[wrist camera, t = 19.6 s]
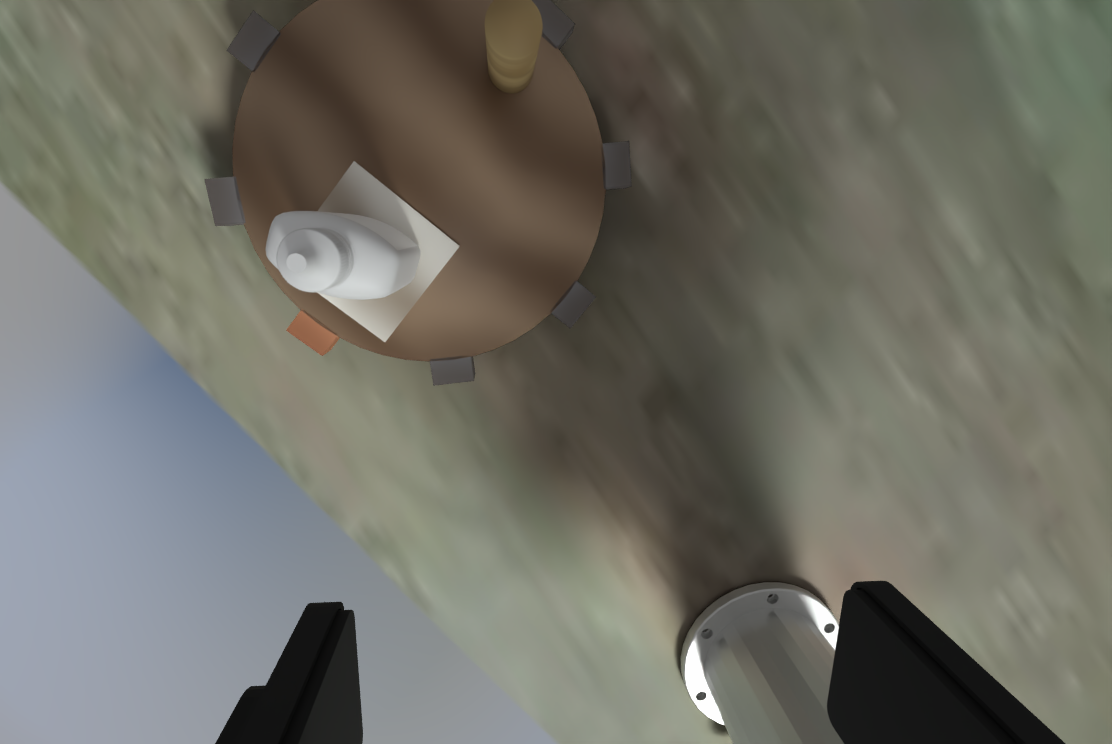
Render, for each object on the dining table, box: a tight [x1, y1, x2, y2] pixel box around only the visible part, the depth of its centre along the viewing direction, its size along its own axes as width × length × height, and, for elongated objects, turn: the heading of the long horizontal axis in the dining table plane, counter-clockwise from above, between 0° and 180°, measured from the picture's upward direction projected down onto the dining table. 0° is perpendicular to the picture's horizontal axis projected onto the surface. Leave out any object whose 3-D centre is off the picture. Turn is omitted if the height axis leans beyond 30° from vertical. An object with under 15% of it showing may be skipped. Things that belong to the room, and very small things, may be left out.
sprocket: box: [205, 0, 632, 385], centre depth 29 cm, size 23×23×9 cm
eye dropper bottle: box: [266, 211, 421, 300], centre depth 27 cm, size 4×6×12 cm
